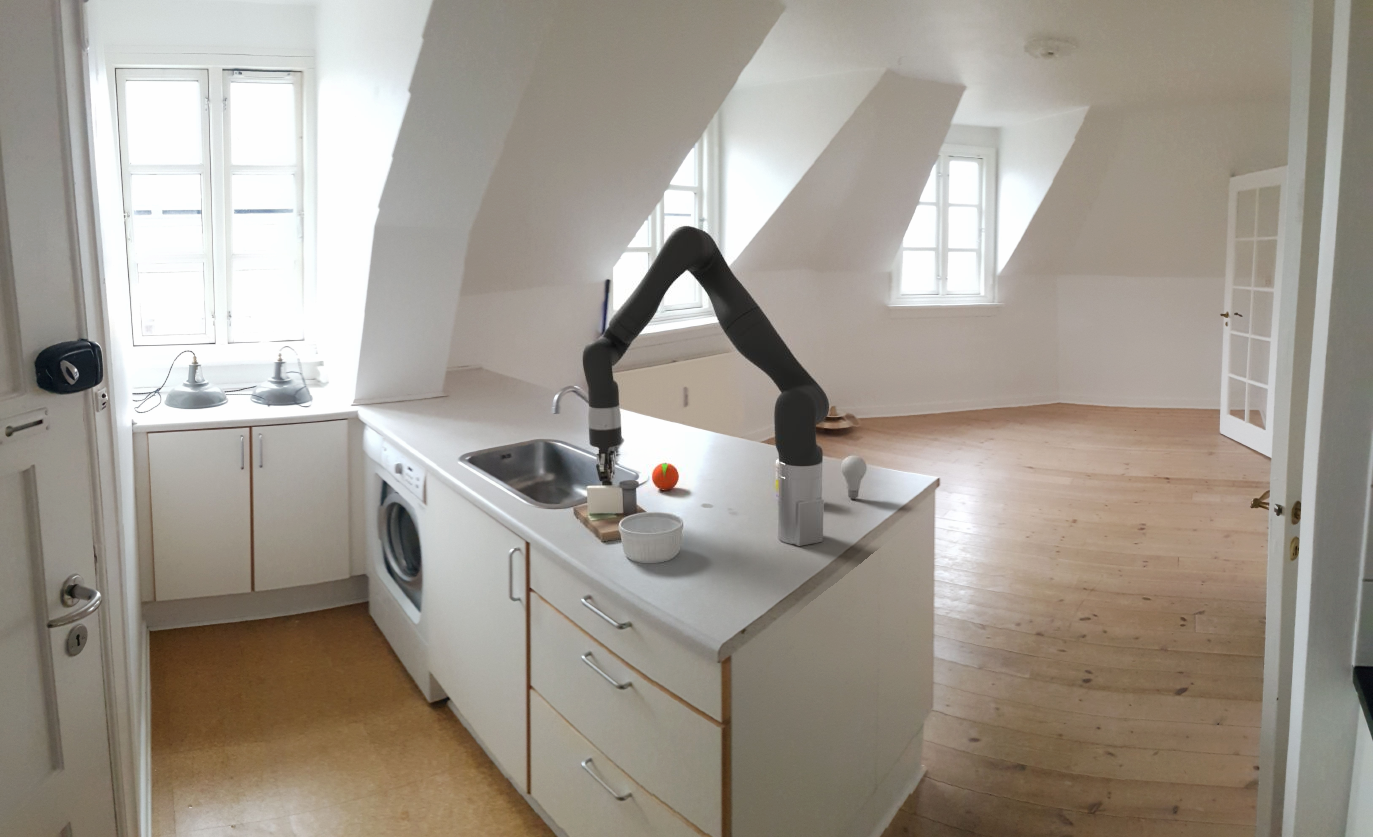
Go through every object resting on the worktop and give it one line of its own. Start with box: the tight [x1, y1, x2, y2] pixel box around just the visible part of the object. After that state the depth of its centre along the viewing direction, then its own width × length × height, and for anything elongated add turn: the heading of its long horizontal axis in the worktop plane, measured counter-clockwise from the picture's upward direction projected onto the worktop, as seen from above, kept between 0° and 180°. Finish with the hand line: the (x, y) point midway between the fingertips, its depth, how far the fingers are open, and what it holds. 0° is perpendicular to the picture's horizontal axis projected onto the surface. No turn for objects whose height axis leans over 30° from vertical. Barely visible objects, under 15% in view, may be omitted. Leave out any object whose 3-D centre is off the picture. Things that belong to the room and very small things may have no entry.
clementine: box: [651, 462, 680, 491], centre depth 221 cm, size 8×7×7 cm
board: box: [573, 504, 647, 543], centre depth 197 cm, size 20×14×2 cm
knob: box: [586, 479, 640, 515], centre depth 196 cm, size 12×4×7 cm, turn 90°
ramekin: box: [619, 511, 684, 564], centre depth 178 cm, size 13×13×7 cm
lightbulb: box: [840, 455, 868, 500], centre depth 211 cm, size 6×6×11 cm
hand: (607, 496), depth 204 cm, fingers closed
